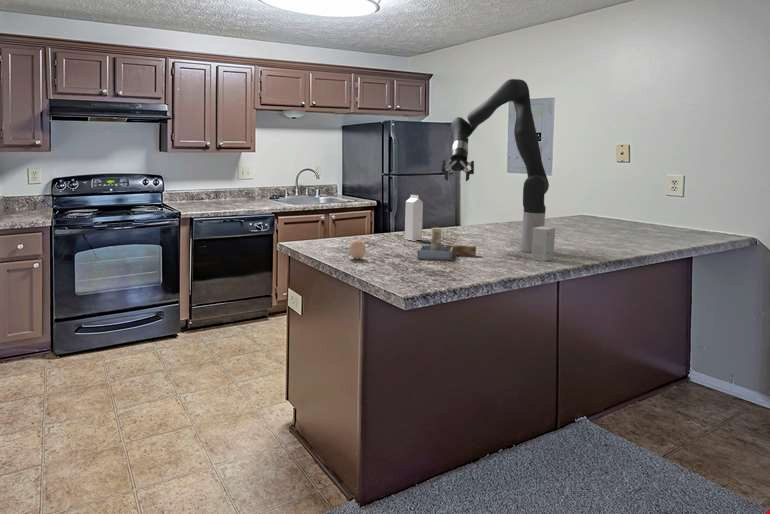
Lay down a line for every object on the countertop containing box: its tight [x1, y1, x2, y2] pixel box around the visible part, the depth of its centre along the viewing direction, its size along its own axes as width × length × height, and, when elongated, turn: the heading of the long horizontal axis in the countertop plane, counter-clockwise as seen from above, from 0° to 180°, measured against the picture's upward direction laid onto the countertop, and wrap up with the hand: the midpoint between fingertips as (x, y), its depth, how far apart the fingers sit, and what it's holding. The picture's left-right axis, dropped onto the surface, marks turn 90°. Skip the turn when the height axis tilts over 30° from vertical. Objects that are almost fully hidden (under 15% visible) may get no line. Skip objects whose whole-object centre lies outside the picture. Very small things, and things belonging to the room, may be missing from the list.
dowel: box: [430, 227, 442, 251], centre depth 232 cm, size 4×4×11 cm
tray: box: [417, 244, 454, 262], centre depth 233 cm, size 13×13×4 cm
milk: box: [404, 194, 424, 241], centre depth 273 cm, size 6×6×22 cm
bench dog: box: [446, 244, 477, 257], centre depth 238 cm, size 12×3×4 cm, turn 79°
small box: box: [530, 225, 556, 262], centre depth 231 cm, size 8×6×13 cm
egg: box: [348, 239, 367, 260], centre depth 225 cm, size 7×7×8 cm
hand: (456, 179), depth 248 cm, fingers open, 8 cm apart
